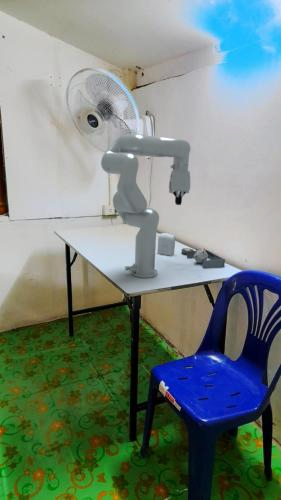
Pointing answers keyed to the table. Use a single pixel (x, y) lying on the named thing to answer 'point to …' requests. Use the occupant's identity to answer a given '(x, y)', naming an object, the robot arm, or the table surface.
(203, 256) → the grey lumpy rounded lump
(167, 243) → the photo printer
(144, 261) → the robot arm
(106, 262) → the table surface
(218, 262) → the chassis bay
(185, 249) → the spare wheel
